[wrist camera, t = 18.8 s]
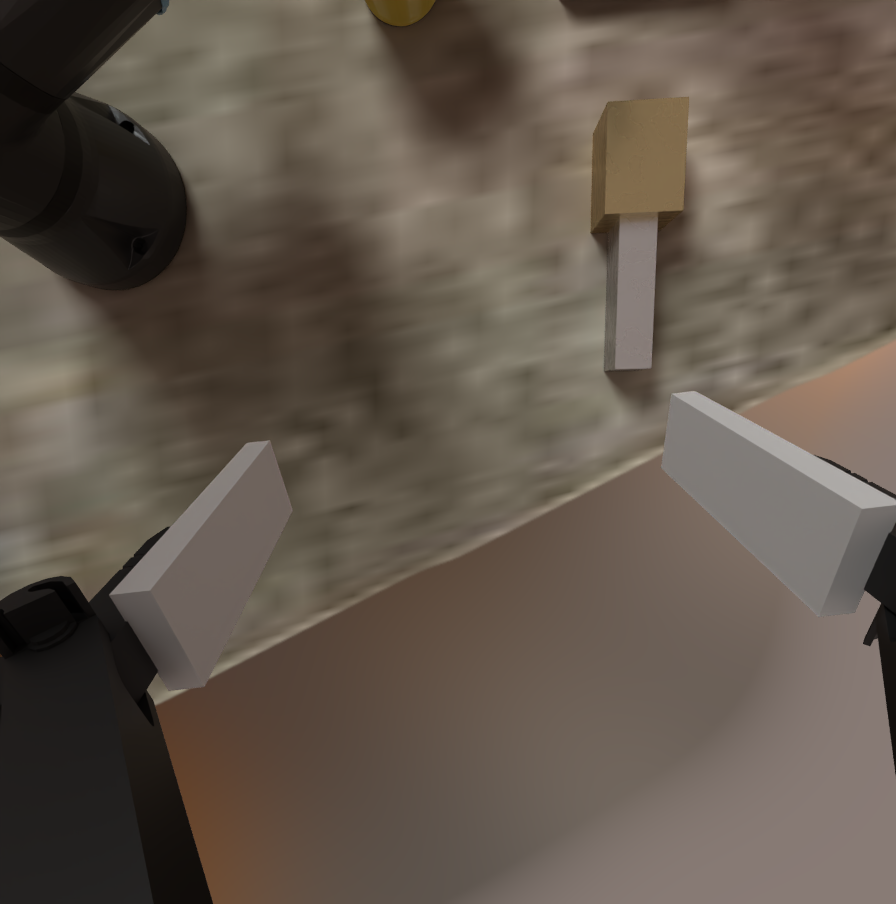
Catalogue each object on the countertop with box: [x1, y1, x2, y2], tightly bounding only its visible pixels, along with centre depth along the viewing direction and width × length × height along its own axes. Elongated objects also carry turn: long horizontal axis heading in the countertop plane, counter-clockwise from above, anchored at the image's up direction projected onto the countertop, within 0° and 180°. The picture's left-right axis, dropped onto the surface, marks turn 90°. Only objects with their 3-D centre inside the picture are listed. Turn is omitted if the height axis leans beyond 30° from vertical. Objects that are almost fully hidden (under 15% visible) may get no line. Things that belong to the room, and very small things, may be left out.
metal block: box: [591, 97, 689, 371], centre depth 35 cm, size 6×20×4 cm, turn 1°
